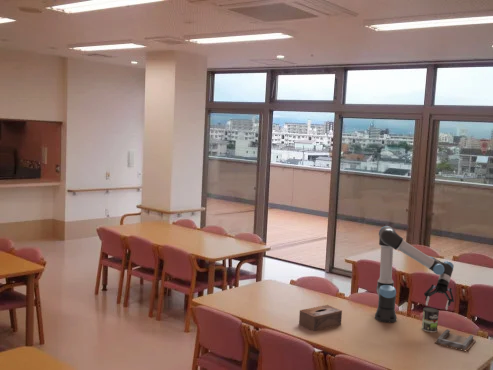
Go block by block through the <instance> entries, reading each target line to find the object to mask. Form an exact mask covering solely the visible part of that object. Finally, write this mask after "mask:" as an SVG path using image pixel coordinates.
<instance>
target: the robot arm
mask: <svg viewBox="0 0 493 370" xmlns="http://www.w3.org/2000/svg"><path fill="white" fill-rule="evenodd" d="M378 244H379V246H380V260H379V261H380V264H379V267H380V268H379V278H378V279H377V285H376V293H377V297H378V301H377V302H378V303H377V309H376V312H375V314H374V319H375V320H376V321H379V322H381V323H395V322H397V319H398V318H397V313H396V310H395V309H396V296H397V288H396V287H394V285H395V282H394V280H393V262H394V261H393V258H394V250H398V251H400V252H402V253H403V254H405V255H406V256H407V257H410V258H411V259H413V261H416V262H417V263H419V264H421V265H422V266H424V267H426V268H427V269H429V270H430V271H432V272H433V273H434V274H436V276H437V275H438V280H437V283H436V285H434V284H431V286H430V287H429V288H428V289H427V290H426V291H425V292H424V297H425V299H424V301H425V307H428V304H429V301H430V298H431V297H432V296H433V295H435V294H437V293H438V294H444V295H445V297H446V299H447V300H446V305H445V311H448V307H450V306H451V303H454V302H455V299H454V296H453V292H452V291H453V289H452V288H451V287H450V288H449V285H450V281H451V277H452V274H453V271H454V264H453V263H452V262H451V261H448V260H447V261H446V260H445V261H441V260H440V259H437V258H435V257H433V256H429V255H427V254H426V253H424V252H423V251H421V250H419V249H418V248H416V247H415V246H413V245H412V244H410V243H409V242H407V241H405V239H404V237H402V236H400V235H399V234H398V233H397V232H396V230H395V229H394V227H392V226H390V225H389V226H388V225H385V226H382V227H380V229H379V231H378ZM448 292H449V294H448ZM449 295H450V296H449ZM450 297H451V298H450Z"/></svg>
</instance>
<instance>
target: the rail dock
mask: <svg viewBox="0 0 493 370" xmlns="http://www.w3.org/2000/svg"><path fill="white" fill-rule="evenodd" d="M474 342H475V343H476V339H474V335H472V334H470V335H469V336H467V337H465V336H462V335H457V334H453V333H451V330H450V329H448V328H446V329H445V330H444V331H443V333H441V334H440V335H439V336H438V338H437V339H436V340H435V341H434V344H436V345H440V346H443V345H444V346H443V347H447V346H448V347H447V348H451V347H452V348H451V349H454V348H457V349H456V350H458V349H462V350H466V351H467V350H468V349H469V348H470V347H471V348H472V346H473V345H474V344H475V343H474ZM473 343H474V344H473ZM472 344H473V345H472ZM471 345H472V346H471ZM471 348H470V349H471ZM470 349H469V350H470ZM462 350H461V351H462ZM469 350H468V351H469ZM466 351H465V352H466ZM468 351H467V352H468Z"/></svg>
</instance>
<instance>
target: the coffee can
mask: <svg viewBox="0 0 493 370" xmlns="http://www.w3.org/2000/svg"><path fill="white" fill-rule="evenodd" d="M439 313H440V310H438V309H437V308H435V307H429V306H425V307H423V308H422V319H421V321H422V322H421V330H423V331H424V332H427V333H436V332H438V325H439V323H438V322H439Z"/></svg>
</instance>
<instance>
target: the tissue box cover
mask: <svg viewBox="0 0 493 370" xmlns="http://www.w3.org/2000/svg"><path fill="white" fill-rule="evenodd" d="M342 314H343V310H341V309H339V308H336V307H333V306H331V305H329V304H323V305H318V306H315V307H310V308H305V309H300V310H299V316H298V317H299V321H298V322H299V323H298V325H300V326H303V327H304V328H306V329H308V330H310V331H312V332H316V331H319V330H324V329H327V328H331V327H336V326H340V325H342V316H343V315H342Z"/></svg>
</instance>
